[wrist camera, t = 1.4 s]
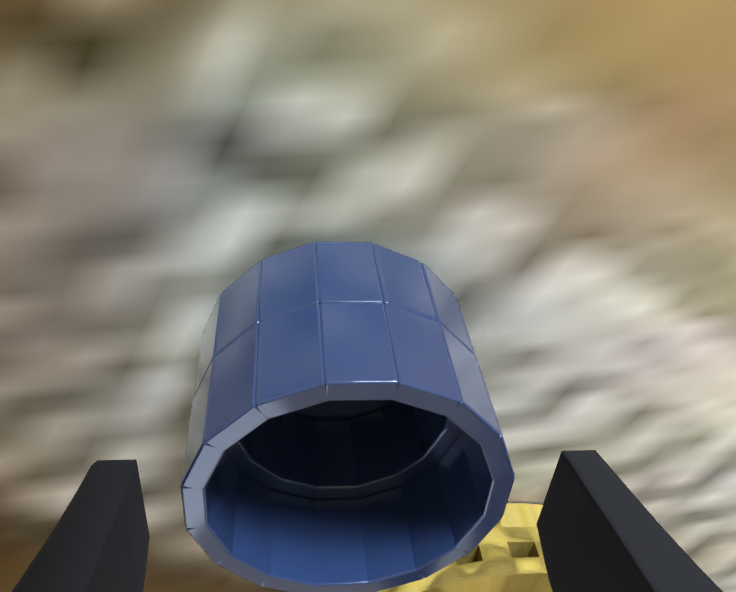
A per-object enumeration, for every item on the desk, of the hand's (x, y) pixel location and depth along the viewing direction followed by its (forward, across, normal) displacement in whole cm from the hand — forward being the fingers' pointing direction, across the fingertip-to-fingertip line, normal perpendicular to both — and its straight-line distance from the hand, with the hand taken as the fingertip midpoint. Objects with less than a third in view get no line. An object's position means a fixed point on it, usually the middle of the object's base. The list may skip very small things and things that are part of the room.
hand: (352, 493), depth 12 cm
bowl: (+4, 0, 0) cm, 4 cm away
